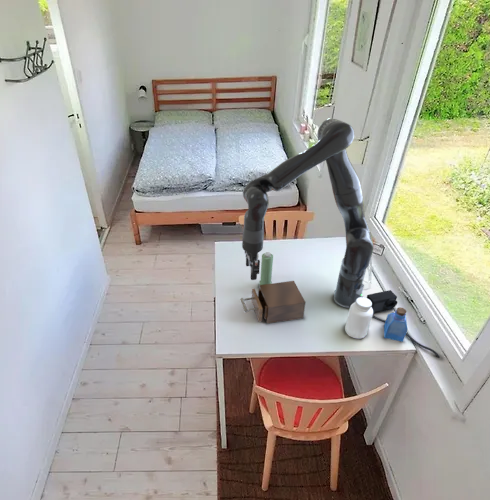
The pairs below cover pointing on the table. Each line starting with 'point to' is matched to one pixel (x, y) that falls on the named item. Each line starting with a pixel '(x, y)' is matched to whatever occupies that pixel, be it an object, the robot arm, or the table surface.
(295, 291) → the cabinet
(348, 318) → the pill bottle
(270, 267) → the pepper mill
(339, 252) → the table surface
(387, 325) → the perfume bottle
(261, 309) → the drawer
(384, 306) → the digital camera
